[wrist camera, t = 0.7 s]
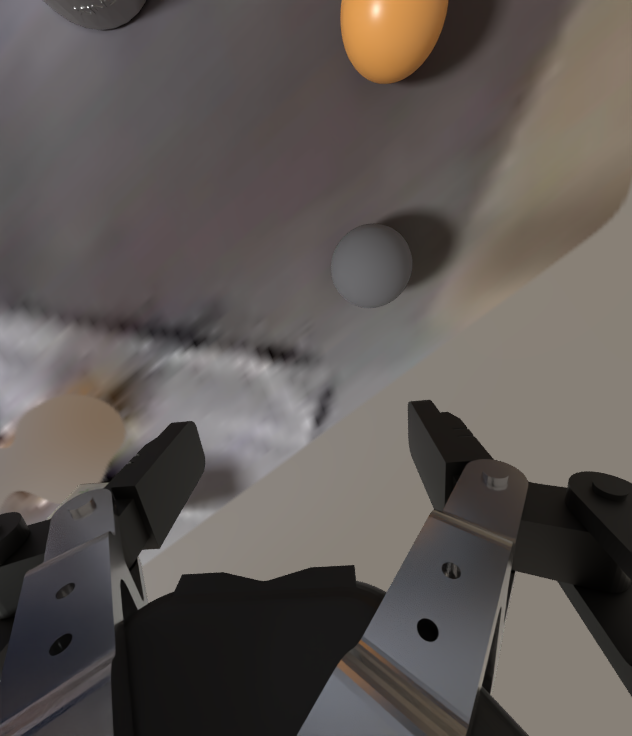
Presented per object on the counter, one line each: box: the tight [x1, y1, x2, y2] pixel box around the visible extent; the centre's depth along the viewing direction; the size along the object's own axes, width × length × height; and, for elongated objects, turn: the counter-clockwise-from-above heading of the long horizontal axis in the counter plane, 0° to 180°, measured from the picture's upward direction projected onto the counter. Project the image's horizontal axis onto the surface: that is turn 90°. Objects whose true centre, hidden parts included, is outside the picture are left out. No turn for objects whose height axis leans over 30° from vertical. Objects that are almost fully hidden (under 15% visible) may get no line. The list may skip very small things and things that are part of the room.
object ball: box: [341, 0, 448, 84], centre depth 18 cm, size 6×6×6 cm
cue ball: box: [331, 224, 412, 308], centre depth 23 cm, size 6×6×6 cm
